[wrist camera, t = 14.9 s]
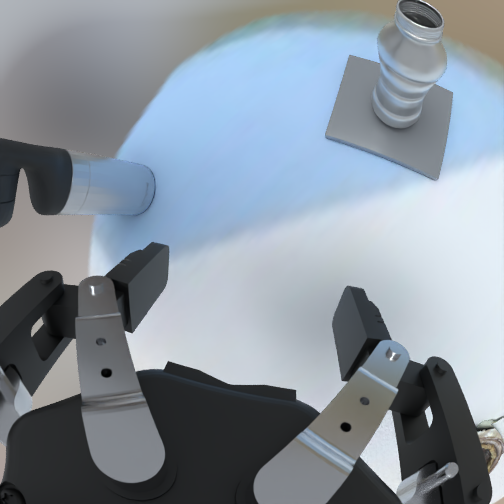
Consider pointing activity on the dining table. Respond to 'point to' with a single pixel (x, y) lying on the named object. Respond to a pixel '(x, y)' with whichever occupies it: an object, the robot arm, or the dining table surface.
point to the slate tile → (382, 135)
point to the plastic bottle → (408, 62)
